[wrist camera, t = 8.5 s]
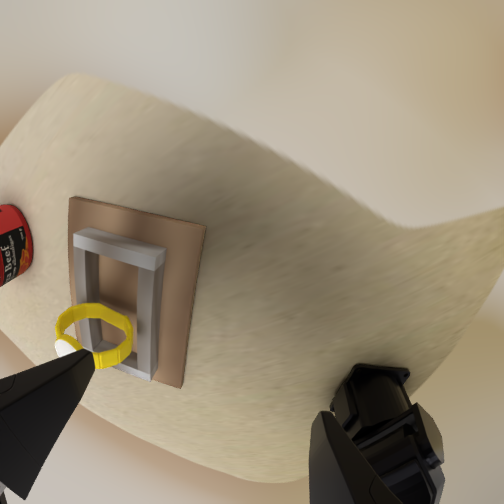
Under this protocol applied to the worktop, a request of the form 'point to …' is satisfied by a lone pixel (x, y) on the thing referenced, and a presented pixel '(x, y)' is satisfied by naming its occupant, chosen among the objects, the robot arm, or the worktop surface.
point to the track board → (135, 283)
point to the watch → (94, 310)
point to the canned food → (13, 244)
